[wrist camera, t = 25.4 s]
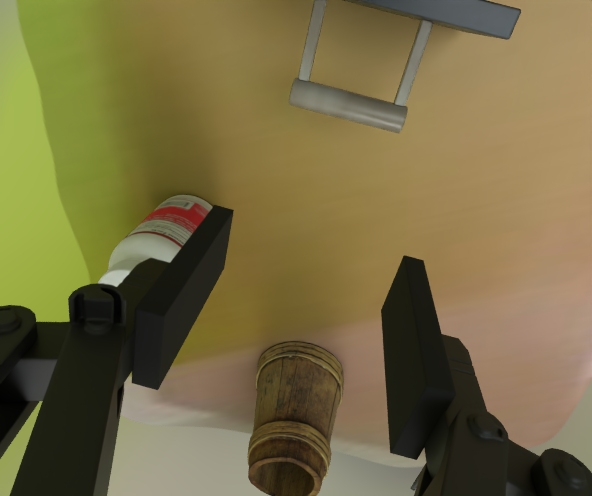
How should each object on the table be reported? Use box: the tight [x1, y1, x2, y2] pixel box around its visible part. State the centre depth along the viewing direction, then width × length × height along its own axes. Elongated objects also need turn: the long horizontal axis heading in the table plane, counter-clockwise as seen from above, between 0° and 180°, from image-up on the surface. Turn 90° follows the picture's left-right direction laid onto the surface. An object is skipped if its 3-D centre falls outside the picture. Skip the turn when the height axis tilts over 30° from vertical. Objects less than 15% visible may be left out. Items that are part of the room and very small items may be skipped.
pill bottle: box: [98, 195, 213, 287], centre depth 32 cm, size 6×6×11 cm
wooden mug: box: [248, 342, 344, 496], centre depth 36 cm, size 9×14×18 cm, turn 170°
